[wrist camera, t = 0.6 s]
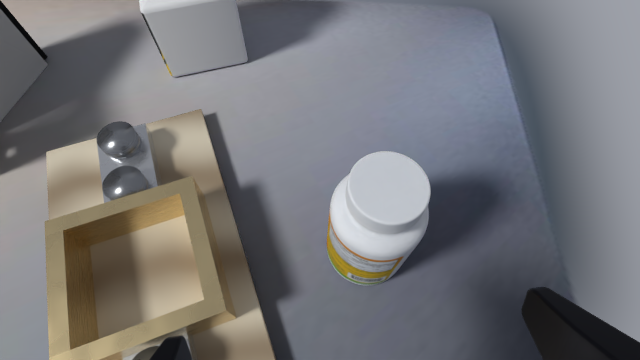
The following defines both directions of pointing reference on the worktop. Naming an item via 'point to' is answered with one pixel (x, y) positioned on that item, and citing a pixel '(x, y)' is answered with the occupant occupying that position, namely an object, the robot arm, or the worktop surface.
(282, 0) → the worktop surface
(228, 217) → the board
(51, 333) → the bottle holder fixture
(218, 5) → the medicine bottle
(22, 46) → the hinge
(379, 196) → the supplement bottle
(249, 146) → the worktop surface
